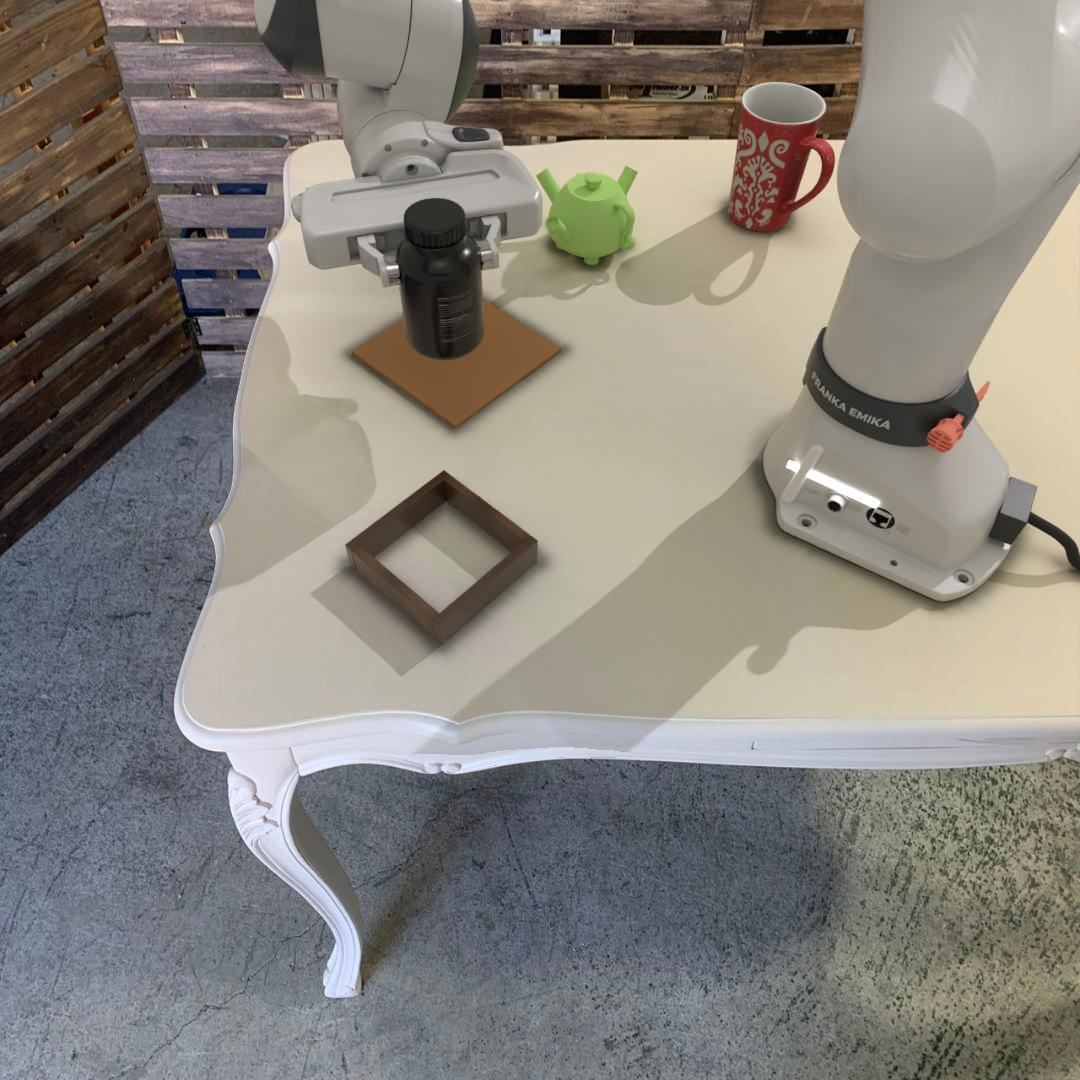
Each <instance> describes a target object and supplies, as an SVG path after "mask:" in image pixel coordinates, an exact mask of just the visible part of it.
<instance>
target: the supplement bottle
mask: <svg viewBox="0 0 1080 1080" xmlns="http://www.w3.org/2000/svg"><path fill="white" fill-rule="evenodd" d="M403 221H404V236H405V238H404V240H403V241H402V242H401V244H400V245H399V247H398V249H397V253H396V263H398V266H399V271H400V276H399V277H400V279H401V284H399V285H398V287H399V294H400V302H401V309H402V317H403V318H404V325H405V331H406V337H407V340H408V342H409V344H410V346H411V347H412V348H413V349H414V350H415V351H416V352H418V353H419V354H421V355H423V356H425V357H427V358H431V359H435V360H452V359H457V358H460V357H463V356H465V355H467V354H469V353H471V352H472V351H474V350H475V349H476V348H477V347H478V346H479V344H480V343H481V341H482V339H483V335H484V311H483V299H484V293H483V292H484V291H483V273H482V272H483V270H481V255H480V250H479V247H478V245H477V244H476V242H475V241H474V240H473V238H472V237H471V236H469V235H468V232H467V226H466V215H465V212H464V209H463V208H462V206H460V205H459V204H458V203H455V202H454V201H451V200H449V199H444V198H430V199H424V200H420V201H418V202H415V203H414V204H411V206H409V207H408V208H407V210H405V213H404V218H403Z"/></svg>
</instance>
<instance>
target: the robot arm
mask: <svg viewBox="0 0 1080 1080" xmlns="http://www.w3.org/2000/svg"><path fill="white" fill-rule="evenodd" d="M253 7H254V8H253V10H254V18H255V19H254V20H255V21H254V22H255V23H254V24H255V30H256V34H257V36H258V37H259V40H260V41H261V43H262V44H263V45H264V47H265V48H266V50H267V51H268V52H269V54H270V55H271V56H272V57H273V58H274V59H275V61H276V62H277V63H278V64H279V65H280V66H281V67H282V68H283V69H284V70H285V71H286V72H287V73H288V74H289V75H296V76H297V75H298V76H306V77H314V78H323V79H325V78H326V77H328V78H331V79H337V84H336V110H337V120H338V125H339V130H340V134H341V139H342V141H343V144H344V147H345V150H346V152H347V154H348V156H349V159H350V166H351V170H352V173H353V177H354V178H349V179H348V178H347V179H341V180H333V181H328V182H327V181H326V182H322V183H321V182H320V183H317V184H314V185H311V186H308V187H306V188H305V190H304V192H301V193H299V194H297V195H294V196H292V198H291V202H290V208H291V212H292V215H293V217H294V219H295V220H296V221H297V222H298V223H300V228H301V234H302V240H303V244H304V249H305V252H306V257H307V261H308V264H309V265H311V266H313V267H314V268H316V269H318V270H321V271H325V270H331V269H337V268H344V267H350V266H355V265H356V266H357V265H361V266H362V268H363V269H365V270H366V271H368V272H370V273H371V274H373V275H375V276H377V277H379V279H380V282H381V285H382V288H387V287H395V286H399V284H401V279H400V277H399V276H400V271H399V266H398V263H396V253H397V249H398V247H399V245H400V244H401V242H402V241H403V240H404V238H405V236H404V221H403V218H404V213H405V210H407V208H408V207H409V206H411V204H414V203H415V202H418V201H420V200H424V199H430V198H444V199H449V200H451V201H454V202H455V203H458V204H459V205H460V206H462V208H463V209H464V212H465V215H466V226H467V232H468V235H469V236H471V237H472V238H473V240H474V241H475V242H476V244H477V245H478V247H479V250H480V255H481V270H482V271H487V270H495V269H499V268H500V254H499V249H500V248H501V245H502V242H504V241H510V240H515V239H523V238H529V237H534V236H535V235H537V233H538V232H539V230H540V229H541V227H542V224H543V211H544V210H543V208H544V207H543V196H542V192H541V189H540V188H539V185H538V184H537V182H536V180H535V179H534V177H533V175H532V174H531V172H530V171H529V169H528V168H527V167H526V165H525V164H524V163H523V162H522V161H521V159H520V158H519V157H517V155H515V154H513V153H512V152H510V151H507V150H505V146H504V145H505V144H504V140H503V136H502V134H501V133H500V131H499V130H497V129H494V128H489V127H488V128H487V127H486V128H485V127H470V126H469V127H468V126H459V125H454V124H448V122H449V121H450V120H451V119H452V118H453V117H454V116H455V115H456V113H457V111H459V109H460V108H461V107H462V105H464V102H465V101H466V99H467V97H468V95H469V93H470V91H471V88H472V86H473V83H474V79H475V76H476V73H477V68H478V62H479V56H480V33H479V27H478V22H477V19H476V16H475V13H474V10H473V7H472V4H471V1H470V0H253ZM862 11H863V12H862V34H861V49H860V51H861V52H860V53H861V54H860V68H859V78H858V79H859V81H858V89H857V97H856V103H855V108H854V113H853V116H852V120H851V123H850V127H849V130H848V132H847V135H846V137H845V140H844V142H843V145H842V147H841V151H840V154H839V158H838V163H837V169H836V189H837V196H838V199H839V204H840V206H841V209H842V211H843V212H842V213H843V214H844V216H845V218H846V220H847V222H848V224H849V225H850V227H851V229H852V230H853V231H854V233H856V234H857V236H858V238H860V239H859V240H858V242H857V244H856V245H855V248H854V249H853V251H852V254H851V256H850V259H849V262H848V265H847V267H846V269H845V273H844V276H843V278H842V282H841V284H840V287H839V291H838V293H837V296H836V299H835V302H834V304H833V307H832V311H831V313H830V315H829V316H830V317H829V320H828V322H827V325H826V326H823V327H822V328H821V330H819V333H818V335H817V338H816V339H815V341H814V343H813V346H812V348H811V350H810V353H809V355H808V358H807V360H806V364H805V371H804V374H803V377H802V385H803V386H802V388H801V390H800V393H799V394H798V397H797V399H796V400H795V402H794V404H793V406H792V408H791V409H790V410H789V413H788V414H787V416H786V417H785V419H784V420H783V422H782V423H781V424H780V426H779V427H778V428H777V430H775V432H773V433H772V435H771V436H770V437H769V439H768V441H767V443H766V445H765V448H764V451H763V457H762V467H763V473H764V476H765V479H766V481H767V484H768V486H769V488H770V490H771V491H772V494H773V496H774V498H775V502H776V503H775V505H776V506H775V507H776V509H775V510H776V511H775V512H776V513H775V514H776V522H777V525H778V526H779V528H780V529H781V530H782V531H784V532H785V533H787V534H789V535H791V536H793V537H796V538H798V539H800V540H802V541H804V542H807V543H809V544H811V545H814V546H815V547H818V548H820V549H822V550H824V551H827V552H828V553H830V554H833V555H835V556H838V557H840V558H842V559H844V560H847V561H848V562H850V563H852V564H855V565H857V566H859V567H861V568H864V569H866V570H868V571H870V572H872V573H875V574H876V575H879V576H881V577H883V578H885V579H888V580H890V581H892V582H894V583H897V584H899V585H901V586H903V587H905V588H908V589H910V590H912V591H914V592H916V593H919V594H920V595H924V596H926V597H927V598H929V599H932V600H935V601H937V602H947V601H953V600H956V599H960V598H961V597H965V596H966V595H968V594H971V593H972V592H974V591H976V590H977V589H978V588H980V587H981V586H982V585H984V583H985V582H986V581H988V579H990V578H991V577H992V576H993V574H994V573H995V572H996V571H997V569H998V568H999V567H1000V566H1001V565H1002V563H1003V561H1005V559H1006V557H1007V555H1008V554H1009V551H1010V550H1011V548H1012V546H1013V544H1014V542H1015V540H1017V538H1018V537H1019V535H1020V534H1021V533H1022V531H1023V530H1024V528H1025V527H1026V526H1027V525H1028V524H1029V525H1031V526H1032V527H1033V528H1036V529H1038V530H1039V531H1041V532H1043V533H1045V534H1046V535H1048V536H1050V537H1051V538H1052V539H1053V540H1055V541H1056V542H1057V543H1058V544H1060V545H1061V547H1062V548H1063V549H1064V551H1065V555H1066V559H1067V561H1068V563H1069V564H1070V565H1071V566H1072V568H1073V569H1076V570H1077V571H1079V572H1080V550H1079V547H1078V544H1077V542H1076V541H1075V540H1074V539H1073V538H1072V537H1071V536H1070V535H1069V534H1068V533H1066V531H1064V530H1063V529H1061V528H1059V527H1058V526H1056V524H1054V523H1052V522H1050V521H1048V520H1046V519H1045V518H1043V517H1041V516H1039V515H1038V514H1036V513H1035V512H1033V511H1032V507H1033V504H1034V501H1035V497H1036V494H1037V490H1038V485H1035V484H1033V483H1029V482H1028V481H1025V480H1021V479H1019V478H1016V477H1013V476H1010V467H1009V464H1008V462H1007V460H1006V459H1005V457H1004V456H1003V455H1002V453H1001V452H1000V450H998V448H997V447H996V445H995V444H994V442H993V441H992V440H991V438H990V437H989V436H988V434H987V432H985V430H984V428H983V427H982V426H981V424H980V422H979V421H978V420H977V419H976V417H975V415H976V413H977V411H978V409H979V406H980V403H981V402H982V400H983V399H984V398H985V395H986V394H987V393H988V390H989V388H990V384H991V381H990V380H988V381H986V382H985V383H984V384H983V385H982V387H981V388H980V389H979V390H978V391H977V392H976V391H975V388H974V386H973V383H972V381H971V377H970V371H969V368H970V366H971V364H972V362H973V361H974V358H975V357H976V355H977V353H978V351H979V349H980V347H981V346H982V344H983V342H984V340H985V338H986V336H987V334H988V332H989V330H990V329H991V327H992V325H993V323H994V321H995V319H996V318H997V316H998V313H999V312H1000V310H1001V309H1002V307H1003V305H1004V303H1005V302H1006V299H1007V298H1008V297H1009V294H1010V293H1011V291H1012V290H1013V288H1014V287H1015V285H1016V284H1017V282H1018V281H1019V279H1020V277H1022V274H1023V273H1024V272H1025V270H1026V268H1027V267H1028V265H1029V264H1030V262H1031V260H1032V259H1033V257H1034V256H1035V254H1036V253H1037V251H1038V250H1039V249H1040V246H1041V245H1042V243H1043V242H1044V241H1045V239H1046V237H1047V236H1048V234H1049V233H1050V231H1051V230H1052V228H1053V226H1054V225H1055V223H1056V222H1057V220H1058V219H1059V217H1060V215H1061V214H1062V212H1063V211H1064V209H1065V207H1066V205H1067V204H1068V202H1070V199H1071V198H1072V196H1073V195H1074V193H1075V191H1076V190H1077V188H1078V186H1079V185H1080V0H863V9H862Z"/></svg>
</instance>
